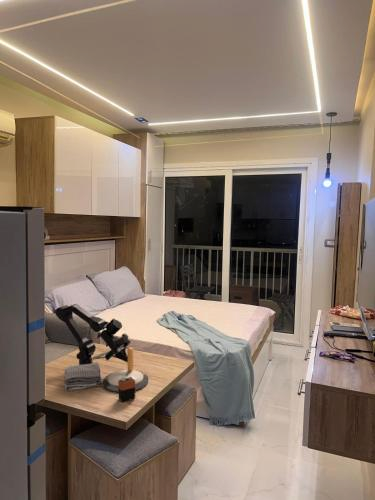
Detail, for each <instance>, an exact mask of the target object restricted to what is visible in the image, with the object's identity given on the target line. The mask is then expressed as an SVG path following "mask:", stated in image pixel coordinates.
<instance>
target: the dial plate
mask: <svg viewBox="0 0 375 500" xmlns="http://www.w3.org/2000/svg"><path fill="white" fill-rule="evenodd" d="M138 371H139V370H138ZM139 372H141V373H142V374H143V380H142V382H140V383H139V384H137V385H135V392H137V391H140V390H142V389H144V388H145V387H147V385H148V384H149V377H148V375H147V374H146V373H145V372H143V371H139ZM112 373H113V372H112ZM112 373H110V374H112ZM110 374H109V373H108V374H107V375H105V377H104V378H102V381H103V384H102V386H103V388H104V390H107V391H108V392H111V393H114V394H115V393H117V394H119V387H117V386H113V385H111V384H109V382H108V377H109V375H110Z"/></svg>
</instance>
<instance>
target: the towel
mask: <svg viewBox="0 0 375 500" xmlns="http://www.w3.org/2000/svg"><path fill="white" fill-rule="evenodd" d="M64 370H65V371H64V391H69V392H70V391H71V390H72V391H77V390H83V389H89V388H94V387H95V388H96V387H102V386H103V378H102V376H101V367H100V364H99V363H98V362H93V363H92V364H84V365H79V364H78V365H70V366H68V367H67V368H66V369H64Z"/></svg>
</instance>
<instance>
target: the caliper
mask: <svg viewBox="0 0 375 500" xmlns="http://www.w3.org/2000/svg"><path fill="white" fill-rule="evenodd" d="M110 350H111V349H109V350H107V351H104V352H101V353H99V354H96V355H94V356H93V355H92V359H93V360H94V359H99V358H100V357H105V355H106V354H107V353H108V352H109V351H110Z"/></svg>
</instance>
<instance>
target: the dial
mask: <svg viewBox="0 0 375 500" xmlns="http://www.w3.org/2000/svg"><path fill="white" fill-rule="evenodd" d="M126 350H127V351H126V354H127V360H128V362H127V369H123V370H122V369H121V370H118V371H115V372H112V374H111V373H110V375H109V374H108V375H109V377H108V382H109V384H111V385H113V386H117V387H118V381H119V380H121V379H122V378H129V377H132V378H133V379H134V380H135V385H137V384H139V383H140V382H142V380H143V374H142V373H141V372H142V371H140V372H139V370H135V369H134V347H126Z"/></svg>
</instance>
